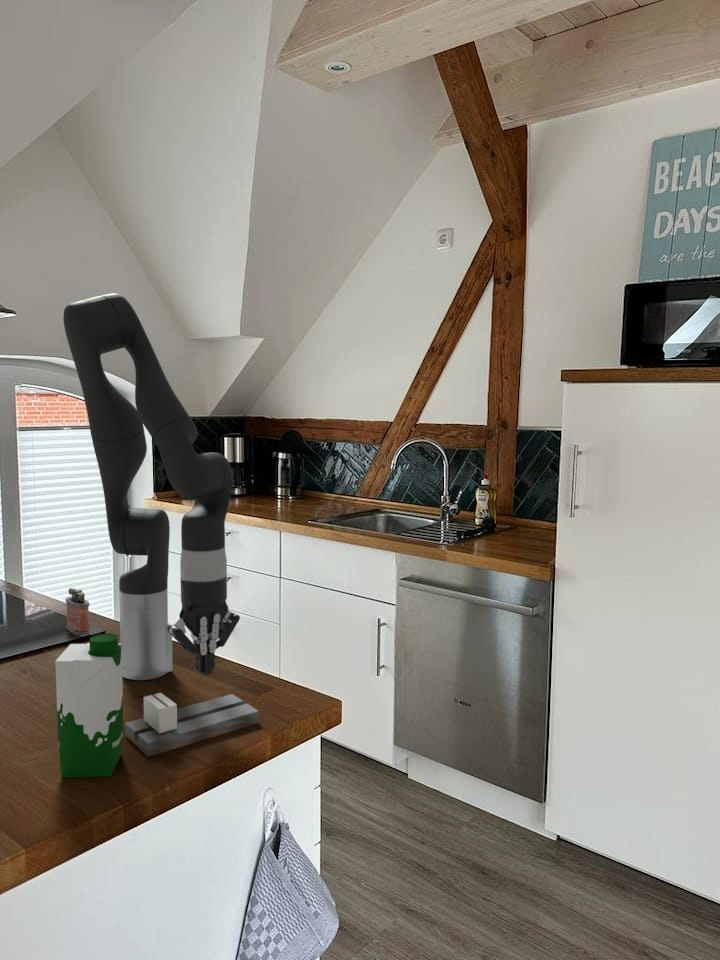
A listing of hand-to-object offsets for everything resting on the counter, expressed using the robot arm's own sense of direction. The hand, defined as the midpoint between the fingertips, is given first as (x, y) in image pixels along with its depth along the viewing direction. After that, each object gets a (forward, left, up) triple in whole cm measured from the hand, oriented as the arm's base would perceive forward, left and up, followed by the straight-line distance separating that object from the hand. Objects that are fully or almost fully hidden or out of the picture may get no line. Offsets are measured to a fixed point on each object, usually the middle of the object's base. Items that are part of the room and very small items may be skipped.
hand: (205, 673), depth 128 cm
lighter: (0, -62, -10) cm, 63 cm away
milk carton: (+20, +2, -10) cm, 22 cm away
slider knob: (+8, 0, -8) cm, 11 cm away
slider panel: (+2, 0, -9) cm, 10 cm away
